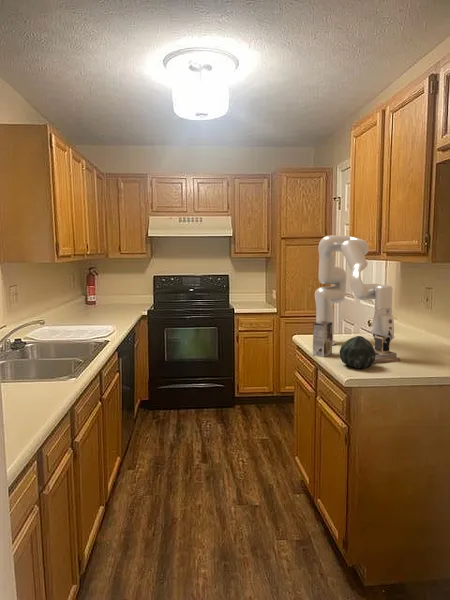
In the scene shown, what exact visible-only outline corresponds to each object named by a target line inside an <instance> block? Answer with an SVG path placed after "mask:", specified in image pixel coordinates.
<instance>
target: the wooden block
mask: <svg viewBox="0 0 450 600" xmlns="http://www.w3.org/2000/svg"><path fill="white" fill-rule="evenodd" d="M386 339H387V337H386ZM383 343H384V337H383V336H375V340H374V348H375V353H378V354H389V351H390V350H389V351H383Z"/></svg>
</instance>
